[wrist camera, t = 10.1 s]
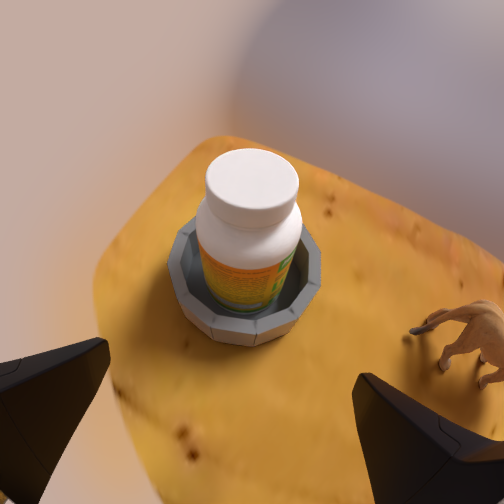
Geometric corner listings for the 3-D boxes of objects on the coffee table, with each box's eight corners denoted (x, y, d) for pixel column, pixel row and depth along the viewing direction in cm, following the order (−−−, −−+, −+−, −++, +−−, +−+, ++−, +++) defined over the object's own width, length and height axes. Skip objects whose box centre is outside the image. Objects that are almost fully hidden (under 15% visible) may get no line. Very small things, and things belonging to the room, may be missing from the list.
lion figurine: (504, 348, 17) (565, 312, 9) (500, 396, 14) (568, 369, 6) (409, 306, 19) (479, 245, 12) (398, 367, 17) (484, 326, 9)
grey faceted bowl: (202, 365, 16) (195, 356, 13) (165, 248, 21) (156, 222, 18) (330, 314, 19) (347, 296, 16) (275, 216, 23) (280, 189, 21)
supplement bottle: (277, 322, 18) (317, 235, 9) (198, 309, 18) (170, 213, 10) (284, 254, 21) (314, 149, 12) (214, 243, 21) (207, 134, 13)
